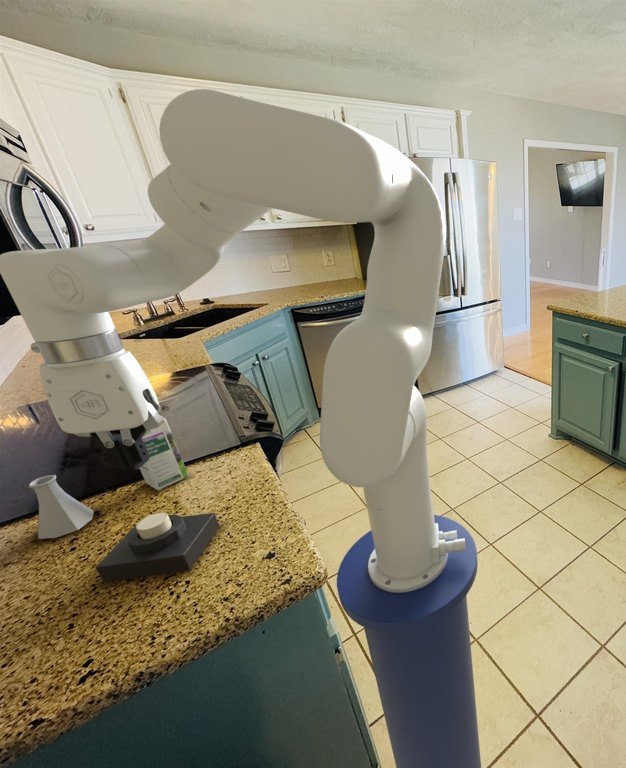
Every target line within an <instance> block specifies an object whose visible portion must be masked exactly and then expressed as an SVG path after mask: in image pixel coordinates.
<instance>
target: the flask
mask: <svg viewBox="0 0 626 768" xmlns="http://www.w3.org/2000/svg"><path fill="white" fill-rule="evenodd" d="M28 488H30V489H32V490H33V491H34V493H35V494H36V498H37V501H38V529H37V539H38V540H42V539H56V538H60V537H62V536H64V535H68V534H71V533H74V532H77V531H79V530H80V529H82V528H83V527H85V525H87V524H88V523H90V522H91V521H92V520H93V519H94V518H93V517H94V510H92V509H91V508H90V507H88V506H86V505H85V504H83V503H82V502H80V501H78V500H77V499H76V498H74V497H72V496H71V495H70V494H68V493H67V492H65V490H63V488H61V486H59V484H58V482H57V475H56V474H51V475H49V474H48V475H45V476H41V477H38V478H36V479H34V480H32V481H31V482H29V484H28Z"/></svg>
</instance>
